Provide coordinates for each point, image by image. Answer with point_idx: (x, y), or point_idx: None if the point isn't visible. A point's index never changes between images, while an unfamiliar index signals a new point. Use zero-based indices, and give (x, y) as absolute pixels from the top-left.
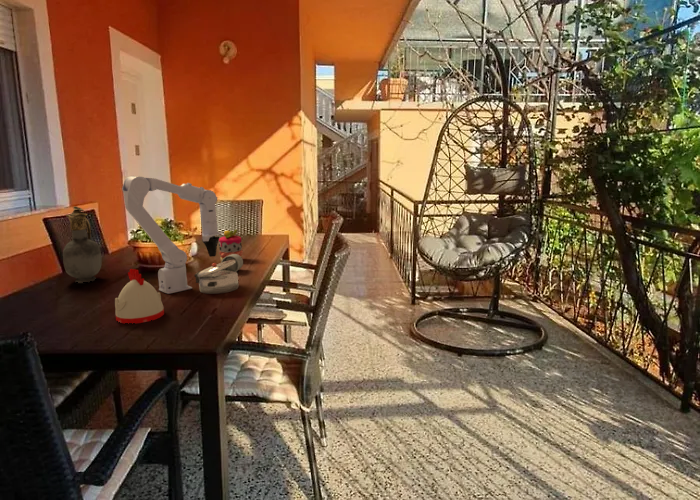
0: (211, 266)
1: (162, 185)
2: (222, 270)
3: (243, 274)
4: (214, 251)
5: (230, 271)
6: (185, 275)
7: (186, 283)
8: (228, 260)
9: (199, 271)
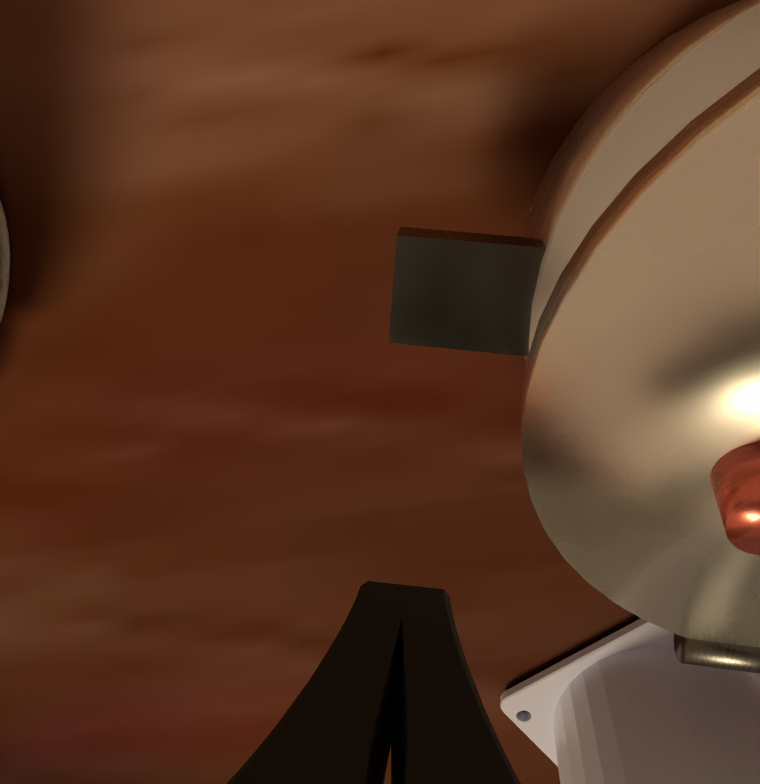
0: (562, 531)
1: None
2: (414, 329)
3: (25, 31)
4: (470, 686)
5: (637, 151)
6: (747, 777)
7: (703, 684)
8: (639, 219)
9: (716, 657)
